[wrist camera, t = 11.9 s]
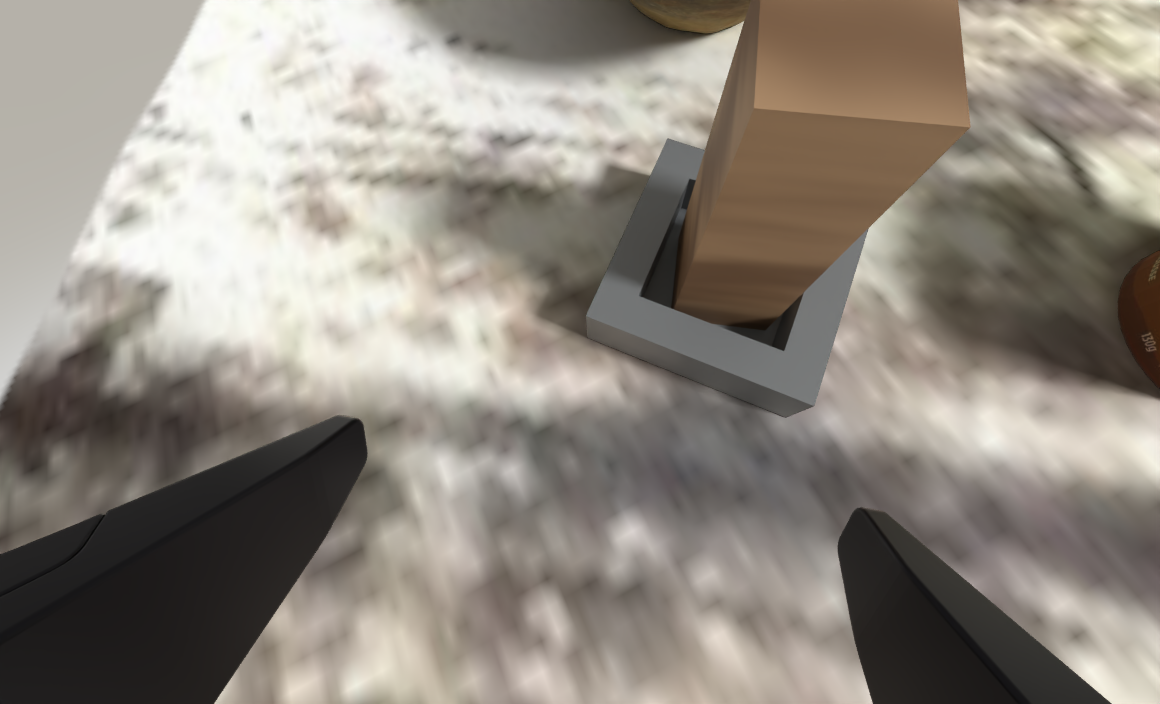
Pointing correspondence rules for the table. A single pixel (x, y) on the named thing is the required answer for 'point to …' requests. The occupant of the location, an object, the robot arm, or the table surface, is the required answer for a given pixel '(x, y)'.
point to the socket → (695, 347)
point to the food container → (1142, 314)
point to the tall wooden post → (814, 146)
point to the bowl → (694, 13)
